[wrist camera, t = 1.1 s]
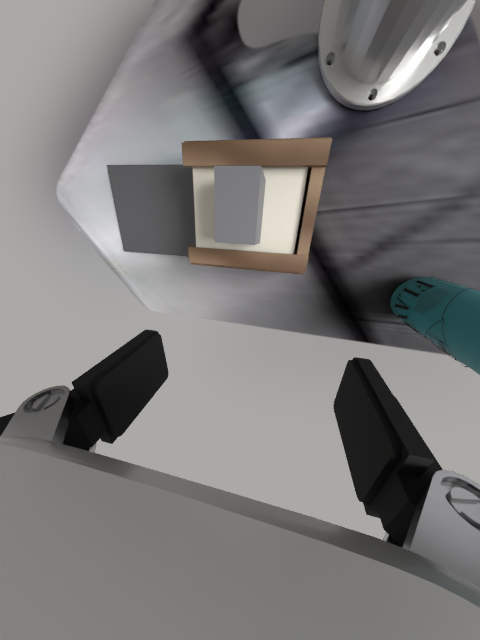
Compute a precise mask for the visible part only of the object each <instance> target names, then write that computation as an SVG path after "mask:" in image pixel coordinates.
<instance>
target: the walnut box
mask: <svg viewBox="0 0 480 640" xmlns="http://www.w3.org/2000/svg"><path fill="white" fill-rule="evenodd" d="M331 142H332V139H331V137H327V138H290V139H254V140H217V141H184V143H182V156H183V166H184V167H192V173H193V167H214V166H261V167H308V173H307V179H306V185H305V191H304V197H303V203H302V209H301V215H300V220H299V226H298V232H297V238H296V244H295V250H294V254H282V253H269V252H256V251H242V250H229V249H215V248H202V247H188V253H189V262H191V264H195V265H206V266H217V267H228V268H239V269H250V270H260V271H271V272H282V273H293V274H304V273H305V272H306V267H307V262H308V257H309V256H308V253H309V248H310V243H311V238H312V233H313V228H314V223H315V218H316V213H317V208H318V203H319V198H320V193H321V188H322V183H323V178H324V173H325V167H326V166H327V162H328V157H329V152H330V147H331ZM193 195H194V186H193ZM194 217H195V209H194ZM195 239H196V231H195Z"/></svg>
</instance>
